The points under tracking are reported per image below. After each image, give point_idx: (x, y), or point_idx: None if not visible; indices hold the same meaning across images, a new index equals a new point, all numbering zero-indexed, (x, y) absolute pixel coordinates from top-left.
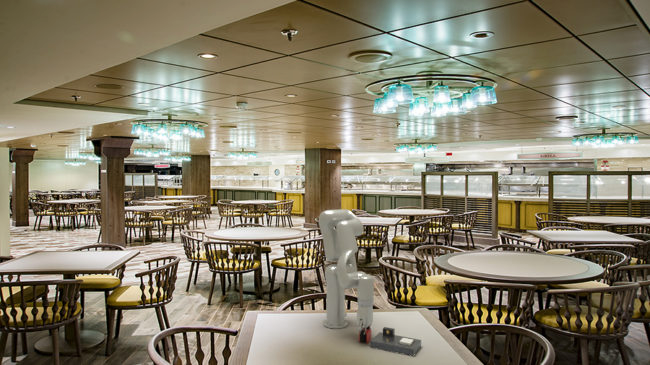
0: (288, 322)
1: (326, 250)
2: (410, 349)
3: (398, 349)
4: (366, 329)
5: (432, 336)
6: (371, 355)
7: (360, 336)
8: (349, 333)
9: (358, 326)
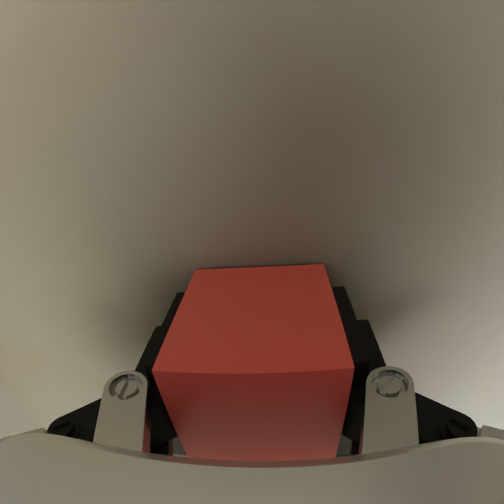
0: None
1: None
2: None
3: None
4: (309, 430)
5: None
6: (63, 415)
7: (160, 342)
8: (406, 21)
9: (74, 449)
